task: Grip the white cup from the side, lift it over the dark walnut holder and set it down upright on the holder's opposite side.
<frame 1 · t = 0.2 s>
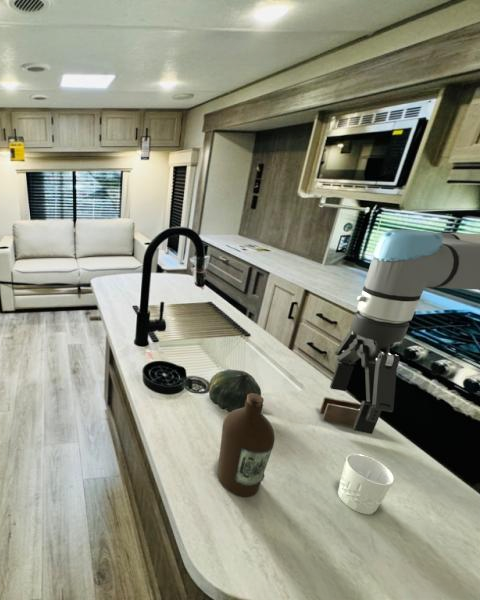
hand: (348, 408, 65), 25 cm above the counter, tool pointing down, fingers open, 13 cm apart
olive oil: (237, 480, 77), on the counter
squash: (231, 406, 102), on the counter
white cup: (355, 500, 72), on the counter
holder: (340, 423, 94), on the counter
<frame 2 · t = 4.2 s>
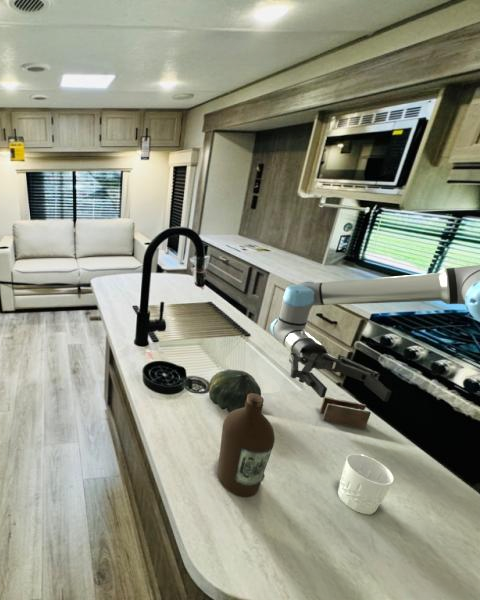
hand: (355, 394, 72), 22 cm above the counter, tool horizontal, fingers open, 13 cm apart
nothing on the counter moved.
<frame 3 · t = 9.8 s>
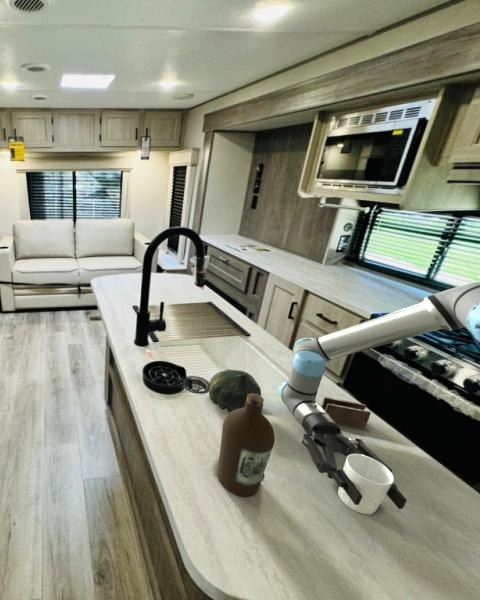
hand: (380, 502, 65), 6 cm above the counter, tool horizontal, fingers closed on white cup, 8 cm apart
white cup: (355, 500, 72), on the counter, touching gripper
everything else where it was.
when the fingers open (6 cm above the counter, at t = 20.4 s): white cup stays where it is, on the counter.
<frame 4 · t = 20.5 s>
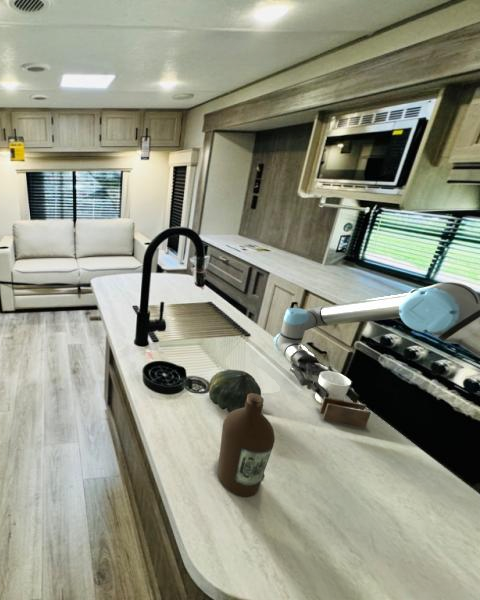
hand: (341, 398, 96), 6 cm above the counter, tool horizontal, fingers open, 8 cm apart
white cup: (326, 404, 102), on the counter
everything else where it was.
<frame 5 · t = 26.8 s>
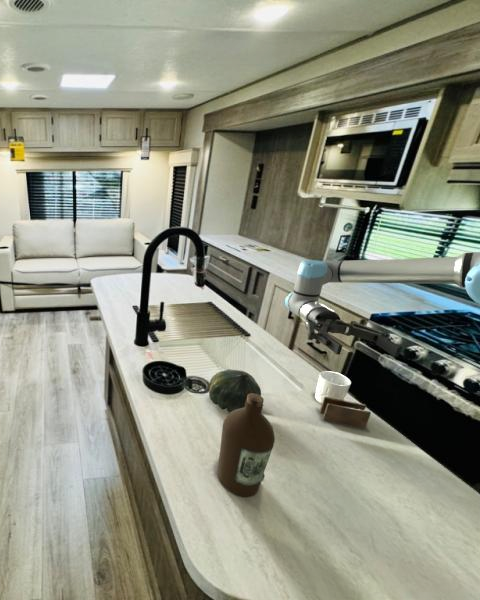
hand: (368, 351, 79), 28 cm above the counter, tool horizontal, fingers open, 13 cm apart
nothing on the counter moved.
at the end: white cup inside the target area on the counter beside the holder (1.0 cm from its centre), on the counter; white cup tilted 0°; the gripper is holding nothing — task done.
